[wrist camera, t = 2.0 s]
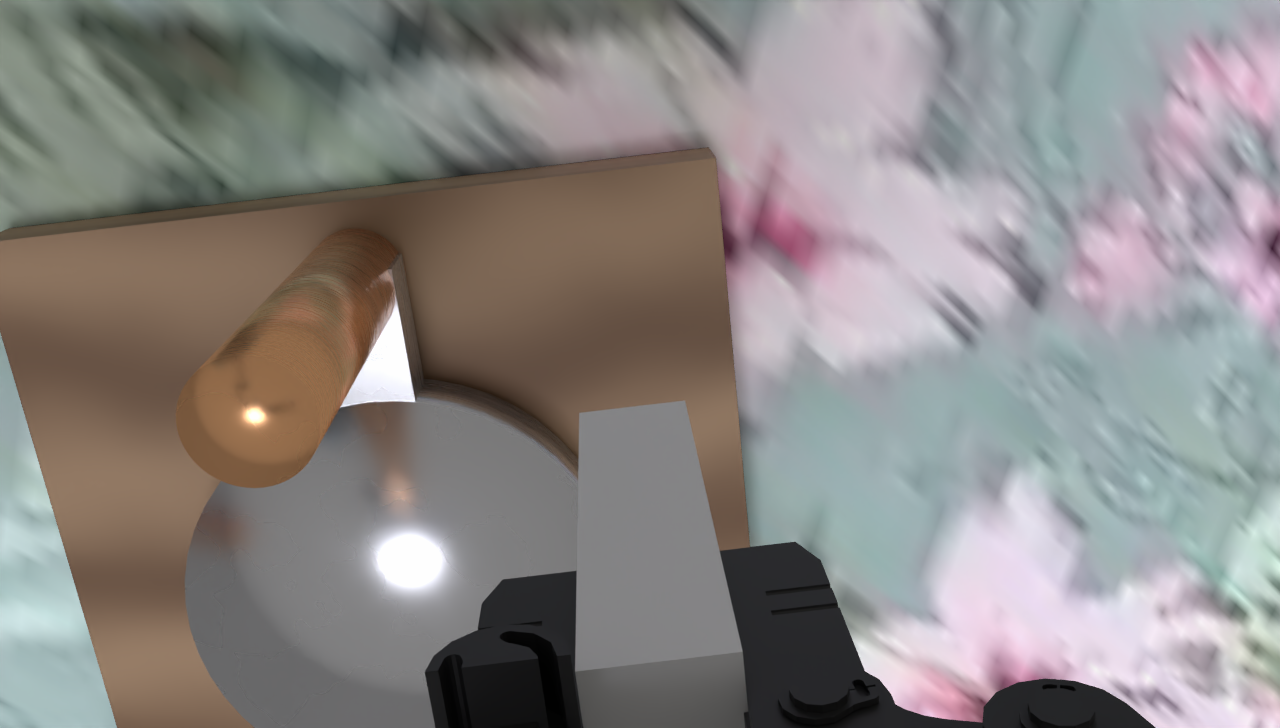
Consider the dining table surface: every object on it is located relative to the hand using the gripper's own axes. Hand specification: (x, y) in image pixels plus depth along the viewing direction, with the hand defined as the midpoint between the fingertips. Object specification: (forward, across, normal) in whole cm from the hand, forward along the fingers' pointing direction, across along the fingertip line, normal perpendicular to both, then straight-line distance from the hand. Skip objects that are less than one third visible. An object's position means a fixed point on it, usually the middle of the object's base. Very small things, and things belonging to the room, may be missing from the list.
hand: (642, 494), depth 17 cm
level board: (+18, -7, -9) cm, 21 cm away
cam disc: (+16, -7, -7) cm, 19 cm away
